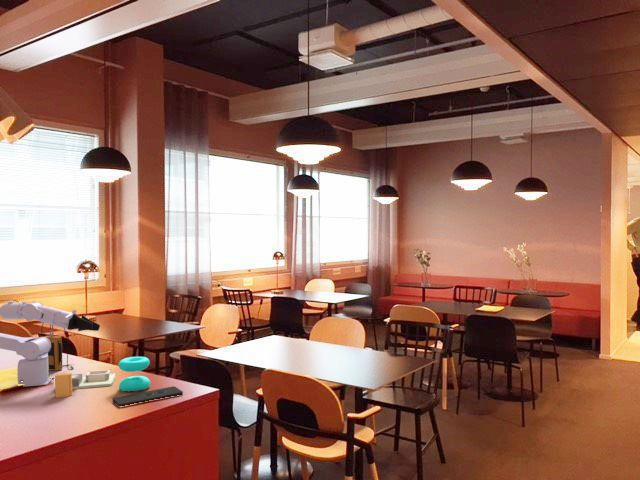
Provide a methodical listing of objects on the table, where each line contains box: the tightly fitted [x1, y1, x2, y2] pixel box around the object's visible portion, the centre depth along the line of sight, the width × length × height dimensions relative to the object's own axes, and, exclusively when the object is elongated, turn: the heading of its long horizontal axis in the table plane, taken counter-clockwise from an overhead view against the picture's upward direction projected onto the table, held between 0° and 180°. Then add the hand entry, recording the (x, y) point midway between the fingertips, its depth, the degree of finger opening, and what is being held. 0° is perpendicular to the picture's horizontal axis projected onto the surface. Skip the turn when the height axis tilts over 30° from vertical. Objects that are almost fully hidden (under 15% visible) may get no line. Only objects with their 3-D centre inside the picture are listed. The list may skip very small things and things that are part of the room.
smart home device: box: [112, 386, 184, 407], centre depth 172 cm, size 8×2×20 cm
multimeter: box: [40, 322, 75, 372], centre depth 214 cm, size 15×10×20 cm
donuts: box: [118, 356, 151, 393], centre depth 183 cm, size 10×10×10 cm
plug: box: [54, 372, 73, 399], centre depth 176 cm, size 5×3×7 cm, turn 105°
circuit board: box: [54, 372, 117, 392], centre depth 191 cm, size 18×14×1 cm
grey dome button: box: [72, 373, 83, 387], centre depth 187 cm, size 7×7×3 cm
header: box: [85, 369, 112, 382], centre depth 194 cm, size 8×6×2 cm
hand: (95, 327), depth 192 cm, fingers open, 7 cm apart
